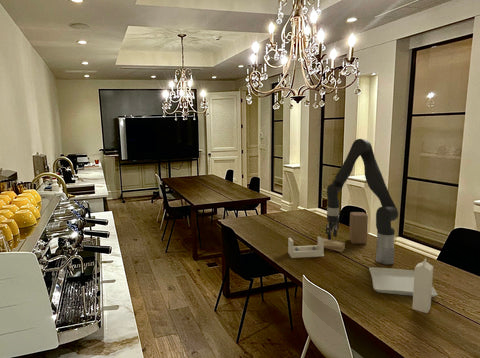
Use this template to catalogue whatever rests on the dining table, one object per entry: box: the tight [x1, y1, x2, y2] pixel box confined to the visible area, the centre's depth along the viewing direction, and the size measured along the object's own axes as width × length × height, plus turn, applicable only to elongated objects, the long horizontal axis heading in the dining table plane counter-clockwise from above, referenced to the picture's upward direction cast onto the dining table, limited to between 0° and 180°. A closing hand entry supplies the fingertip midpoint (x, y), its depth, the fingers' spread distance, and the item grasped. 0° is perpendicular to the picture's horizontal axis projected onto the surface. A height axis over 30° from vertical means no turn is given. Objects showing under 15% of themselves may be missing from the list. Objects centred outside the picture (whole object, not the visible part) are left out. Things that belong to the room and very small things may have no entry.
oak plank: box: [322, 237, 346, 253], centre depth 224 cm, size 4×15×5 cm, turn 51°
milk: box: [411, 258, 434, 314], centre depth 147 cm, size 6×6×22 cm
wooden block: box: [348, 211, 369, 245], centre depth 235 cm, size 10×10×20 cm
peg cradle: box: [287, 236, 325, 259], centre depth 214 cm, size 10×20×10 cm, turn 95°
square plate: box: [368, 267, 439, 298], centre depth 170 cm, size 27×27×4 cm
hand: (332, 238), depth 224 cm, fingers open, 8 cm apart
